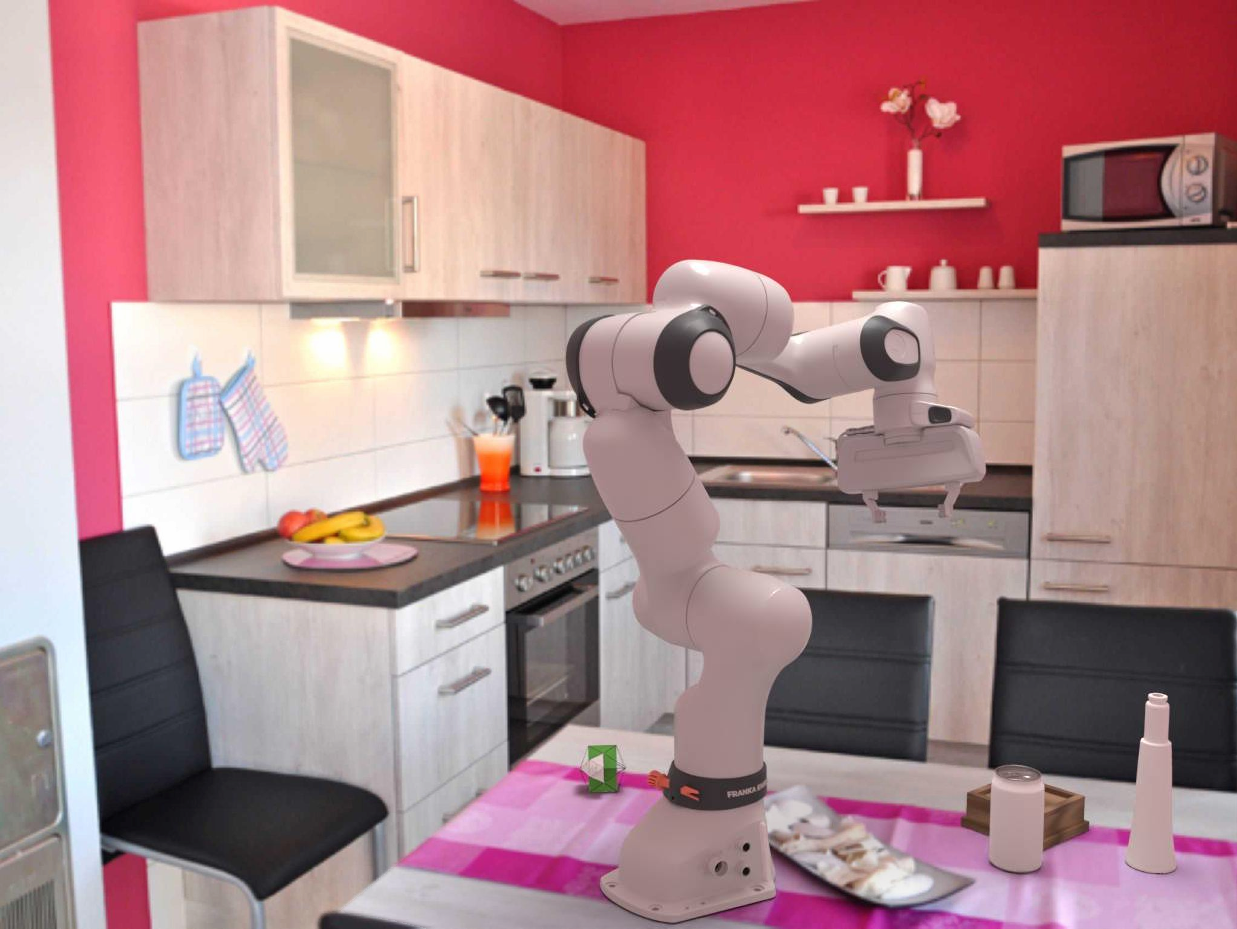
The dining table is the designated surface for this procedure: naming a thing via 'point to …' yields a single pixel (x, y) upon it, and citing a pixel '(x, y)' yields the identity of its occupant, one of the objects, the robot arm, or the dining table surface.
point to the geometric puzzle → (602, 768)
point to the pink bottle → (1153, 795)
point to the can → (1016, 819)
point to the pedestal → (1058, 814)
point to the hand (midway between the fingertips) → (912, 520)
